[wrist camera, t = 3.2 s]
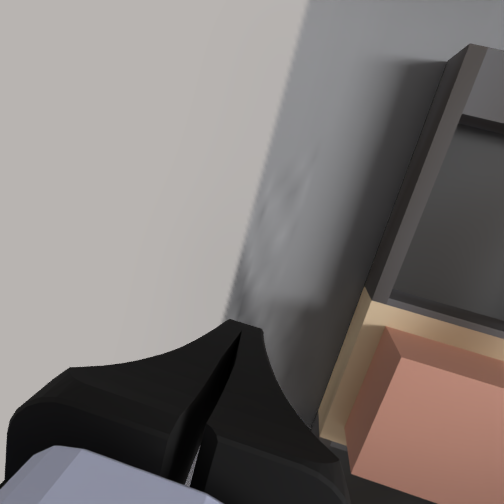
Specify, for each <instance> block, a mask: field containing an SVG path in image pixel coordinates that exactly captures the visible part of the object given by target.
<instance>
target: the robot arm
mask: <svg viewBox="0 0 504 504" xmlns="http://www.w3.org/2000/svg"><path fill="white" fill-rule="evenodd" d="M200 445H201V446H200ZM199 447H200V450H199V453H198V457H197V461H196V465H195V469H194V473H193V476H192V480H191V484H190V487H188V486H185V482H186V479H187V477H188V474H189V471H190V469H191V466H192V463H193V461H194V458H195V456H196V454H197V451H198V449H199ZM0 504H351V501H350V496H349V491H348V488H347V484H346V480H345V476H344V472H343V469H342V465H341V461H340V459H339V458H338V457H337V456H336V455H334V454H333V453H332V452H331V451H330V450H329V449H328V448H327V447H326V446H325V445H324V444H323V443H322V442H321V441H320V440H319V439H318V438H317V437H316V436H315V435H314V434H313V433H312V432H311V431H310V429H309V428H308V427H307V426H306V425H305V424H304V423H303V421H302V420H301V419H300V417H299V416H298V415H297V414H296V412H295V411H294V409H293V408H292V407H291V405H290V404H289V402H288V401H287V399H286V398H285V396H284V394H283V392H282V390H281V388H280V386H279V384H278V382H277V380H276V378H275V375H274V373H273V370H272V368H271V365H270V362H269V359H268V356H267V352H266V348H265V343H264V336H263V331H262V329H260V328H257V327H254V326H251V325H247V324H244V323H241V322H238V321H235V320H231V319H229V320H227V321H225V322H224V323H222V324H221V325H220V326H218V327H217V328H215V329H214V330H212V331H210V332H209V333H207V334H205V335H204V336H202V337H200V338H199V339H197V340H195V341H193V342H191V343H189V344H187V345H185V346H183V347H180V348H178V349H175V350H173V351H170V352H167V353H164V354H161V355H157V356H153V357H150V358H146V359H142V360H138V361H133V362H127V363H122V364H114V365H105V366H90V367H70V368H69V369H67V370H65V371H64V372H63V373H61V374H60V375H58V376H57V377H56V378H54V379H53V380H52V381H51V382H49V383H48V384H47V385H46V386H44V387H43V388H42V389H41V390H40V391H38V392H37V393H36V394H35V395H34V396H32V397H31V398H30V399H29V400H28V401H26V402H25V403H24V404H23V405H21V407H19V408H18V409H17V410H16V411H15V413H14V415H13V416H12V418H11V419H10V423H9V427H8V432H7V445H6V464H5V480H4V481H3V482H2V483H1V484H0Z"/></svg>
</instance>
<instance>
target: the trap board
mask: <svg viewBox="0 0 504 504" xmlns="http://www.w3.org/2000/svg"><path fill="white" fill-rule="evenodd" d="M385 326H388V327H391V328H394V329H398V330H401V331H404V332H408V333H411V334H414V335H418V336H421V337H424V338H428V339H431V340H434V341H438V342H441V343H444V344H448V345H451V346H455V347H458V348H461V349H465V350H468V351H471V352H475V353H478V354H481V355H485V356H488V357H491V358H495V359H498V360H501V361H504V51H503V50H498V49H493V48H489V47H484V46H479V45H475V44H469V45H467V46H466V47H465V48H464V49H462V50H461V51H460V52H459V53H457V54H456V55H455V56H453V57H452V58H451V59H450V60H448V62H447V65H446V67H445V70H444V73H443V75H442V78H441V81H440V83H439V86H438V89H437V91H436V94H435V97H434V100H433V102H432V105H431V108H430V110H429V113H428V116H427V118H426V121H425V124H424V127H423V129H422V132H421V135H420V137H419V140H418V143H417V145H416V148H415V151H414V153H413V156H412V159H411V162H410V164H409V167H408V170H407V172H406V175H405V178H404V180H403V183H402V186H401V189H400V191H399V194H398V197H397V199H396V202H395V205H394V207H393V210H392V213H391V216H390V218H389V221H388V224H387V226H386V229H385V232H384V234H383V237H382V240H381V242H380V245H379V248H378V251H377V253H376V256H375V259H374V261H373V264H372V267H371V269H370V272H369V275H368V278H367V280H366V283H365V286H364V288H363V291H362V294H361V296H360V299H359V302H358V304H357V307H356V310H355V313H354V315H353V318H352V321H351V323H350V326H349V329H348V331H347V334H346V337H345V340H344V342H343V345H342V348H341V350H340V353H339V356H338V358H337V361H336V364H335V366H334V369H333V372H332V375H331V377H330V380H329V383H328V385H327V388H326V391H325V393H324V396H323V399H322V402H321V404H320V407H319V410H318V412H317V415H316V418H315V420H314V423H313V426H312V429H311V432H312V433H313V434H314V435H315V436H316V437H317V438H318V439H319V440H320V441H321V442H322V443H323V444H324V445H325V446H326V447H327V448H328V449H329V450H330V451H331V452H332V453H333V454H334V455H336V456H337V457H338V458H339V459H340V461H341V465H342V469H343V472H344V476H345V480H346V484H347V488H348V491H349V496H350V501H351V504H437V503H434V502H432V501H429V500H426V499H423V498H420V497H417V496H414V495H411V494H408V493H405V492H402V491H400V490H397V489H394V488H391V487H388V486H385V485H382V484H379V483H376V482H373V481H370V480H368V479H365V478H362V477H359V476H356V475H353V474H351V471H350V464H349V457H348V450H347V443H346V436H345V429H344V428H345V425H346V423H347V420H348V418H349V415H350V413H351V410H352V408H353V405H354V403H355V400H356V398H357V395H358V393H359V390H360V388H361V386H362V383H363V381H364V378H365V376H366V373H367V371H368V368H369V366H370V363H371V361H372V358H373V356H374V353H375V351H376V348H377V346H378V344H379V341H380V339H381V336H382V334H383V331H384V329H385Z"/></svg>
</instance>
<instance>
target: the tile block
mask: <svg viewBox="0 0 504 504" xmlns="http://www.w3.org/2000/svg"><path fill="white" fill-rule="evenodd" d="M344 429H345V436H346V443H347V450H348V457H349V464H350V471H351V474H353V475H356V476H359V477H362V478H365V479H368V480H370V481H373V482H376V483H379V484H382V485H385V486H388V487H391V488H394V489H397V490H400V491H402V492H405V493H408V494H411V495H414V496H417V497H420V498H423V499H426V500H429V501H432V502H434V503H437V504H504V361H501V360H498V359H495V358H491V357H488V356H485V355H481V354H478V353H475V352H471V351H468V350H465V349H461V348H458V347H455V346H451V345H448V344H444V343H441V342H438V341H434V340H431V339H428V338H424V337H421V336H418V335H414V334H411V333H408V332H404V331H401V330H398V329H394V328H391V327H388V326H385V329H384V331H383V334H382V336H381V339H380V341H379V344H378V346H377V348H376V351H375V353H374V356H373V358H372V361H371V363H370V366H369V368H368V371H367V373H366V376H365V378H364V381H363V383H362V386H361V388H360V390H359V393H358V395H357V398H356V400H355V403H354V405H353V408H352V410H351V413H350V415H349V418H348V420H347V423H346V425H345V428H344Z"/></svg>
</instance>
